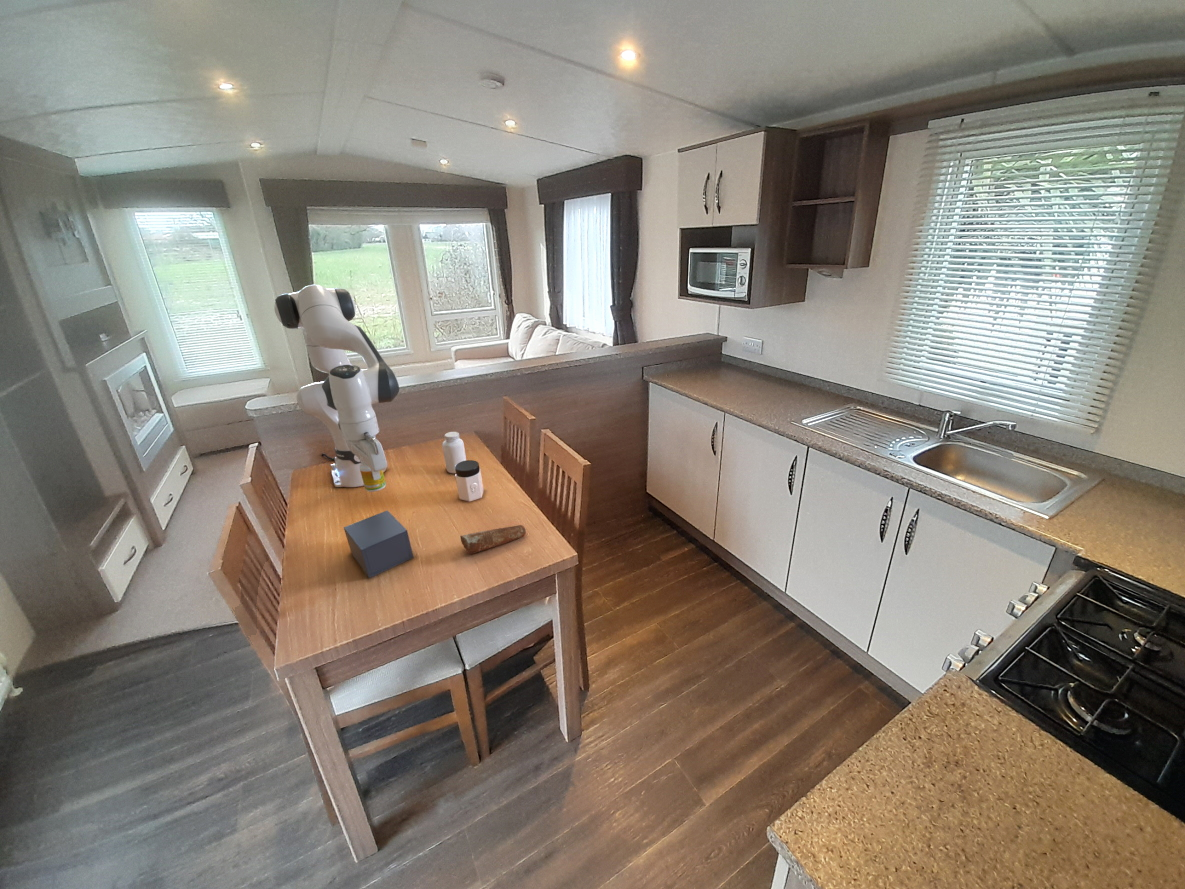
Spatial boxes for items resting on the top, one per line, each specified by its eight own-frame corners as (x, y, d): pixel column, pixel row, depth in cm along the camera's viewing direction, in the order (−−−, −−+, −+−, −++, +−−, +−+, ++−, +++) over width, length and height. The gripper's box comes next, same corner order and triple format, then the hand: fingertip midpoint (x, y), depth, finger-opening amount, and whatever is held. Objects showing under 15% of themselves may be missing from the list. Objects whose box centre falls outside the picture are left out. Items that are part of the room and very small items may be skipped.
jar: (463, 504, 163) (458, 473, 158) (455, 494, 169) (450, 464, 164) (488, 496, 168) (483, 466, 163) (479, 486, 174) (474, 457, 169)
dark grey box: (351, 554, 140) (343, 527, 136) (394, 536, 148) (387, 510, 143) (369, 578, 130) (361, 550, 126) (413, 557, 138) (407, 530, 134)
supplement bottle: (385, 490, 130) (377, 458, 126) (364, 493, 129) (355, 461, 125) (386, 481, 135) (379, 450, 131) (366, 484, 134) (358, 453, 130)
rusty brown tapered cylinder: (461, 547, 141) (458, 532, 139) (523, 530, 148) (521, 515, 146) (466, 560, 136) (463, 544, 134) (529, 541, 143) (528, 526, 141)
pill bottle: (471, 465, 189) (466, 431, 183) (460, 475, 182) (454, 439, 176) (454, 463, 192) (448, 429, 185) (442, 472, 185) (436, 437, 179)
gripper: (387, 435, 119) (398, 483, 125) (359, 415, 133) (370, 459, 139) (361, 442, 116) (374, 492, 121) (335, 421, 129) (348, 466, 135)
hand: (372, 474), depth 130 cm, fingers closed on supplement bottle, 5 cm apart
